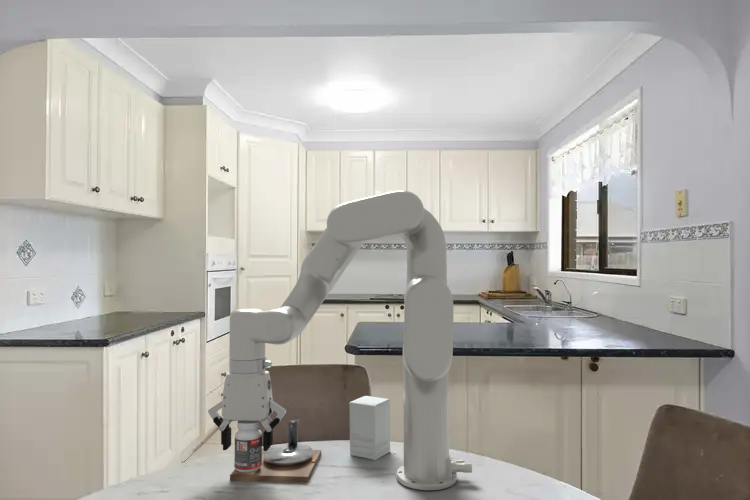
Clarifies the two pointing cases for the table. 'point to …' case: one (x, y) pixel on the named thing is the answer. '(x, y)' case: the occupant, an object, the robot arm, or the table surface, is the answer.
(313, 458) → the dial board
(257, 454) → the pill bottle
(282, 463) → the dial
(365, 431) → the supplement box
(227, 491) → the table surface
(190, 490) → the table surface
